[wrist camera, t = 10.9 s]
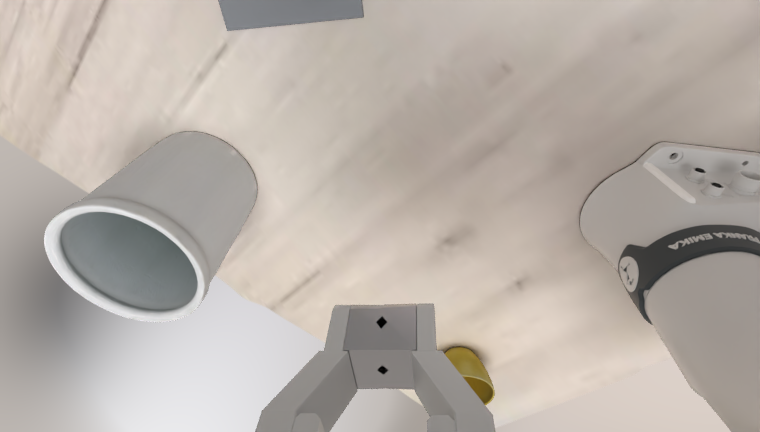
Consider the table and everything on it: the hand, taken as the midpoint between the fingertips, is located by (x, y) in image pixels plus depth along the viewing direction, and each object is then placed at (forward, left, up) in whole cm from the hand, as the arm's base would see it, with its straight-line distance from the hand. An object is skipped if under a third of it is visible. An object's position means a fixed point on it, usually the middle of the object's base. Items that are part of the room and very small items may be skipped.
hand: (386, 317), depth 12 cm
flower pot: (-6, +52, -35) cm, 63 cm away
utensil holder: (+27, +14, -35) cm, 47 cm away
